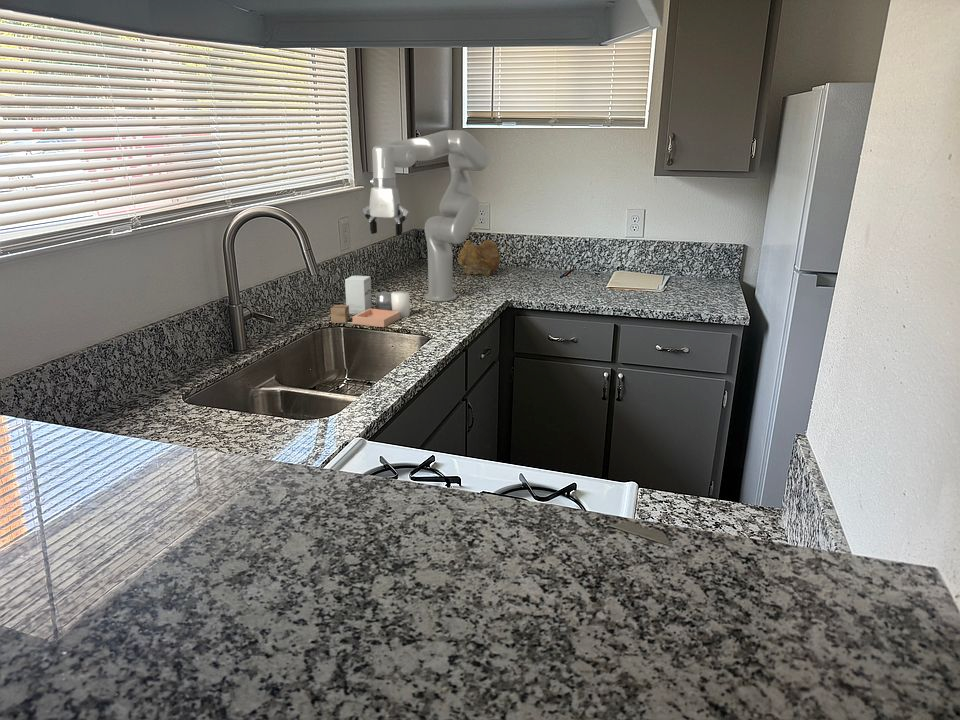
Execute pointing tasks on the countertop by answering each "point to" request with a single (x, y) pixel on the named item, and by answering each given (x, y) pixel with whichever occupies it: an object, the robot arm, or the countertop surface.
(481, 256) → the rough brown rock
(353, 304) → the supplement box
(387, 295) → the grey tin
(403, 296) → the white rounded lump
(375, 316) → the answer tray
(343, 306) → the walnut block
